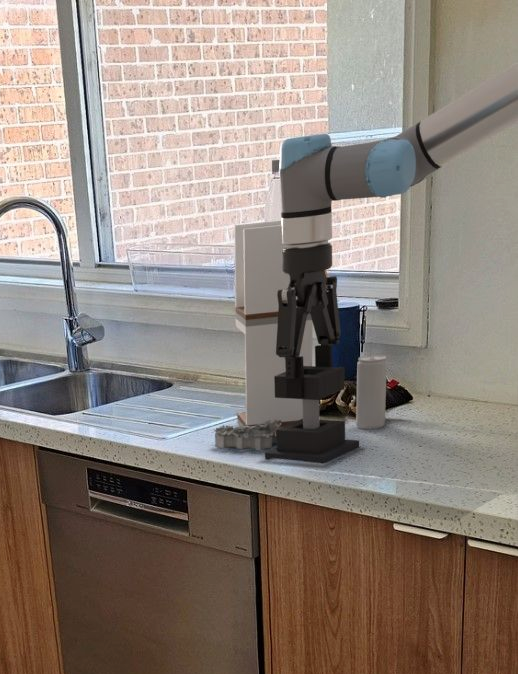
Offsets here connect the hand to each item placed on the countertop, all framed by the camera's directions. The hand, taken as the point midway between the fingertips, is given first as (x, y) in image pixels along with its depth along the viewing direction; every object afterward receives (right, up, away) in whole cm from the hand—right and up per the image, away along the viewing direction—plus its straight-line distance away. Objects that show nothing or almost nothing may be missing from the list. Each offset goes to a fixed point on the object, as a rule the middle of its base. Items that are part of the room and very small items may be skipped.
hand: (310, 391), depth 197 cm
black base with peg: (+1, -10, +4) cm, 10 cm away
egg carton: (-7, -6, +15) cm, 17 cm away
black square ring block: (+1, -8, +4) cm, 9 cm away
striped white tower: (0, -1, +25) cm, 25 cm away
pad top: (0, 0, 0) cm, 0 cm away
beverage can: (+15, -3, +16) cm, 22 cm away
